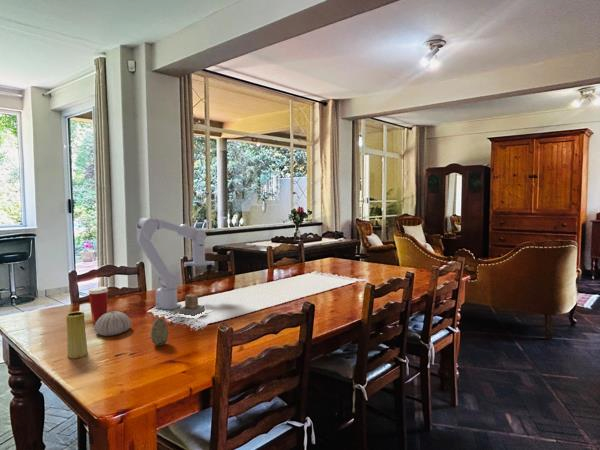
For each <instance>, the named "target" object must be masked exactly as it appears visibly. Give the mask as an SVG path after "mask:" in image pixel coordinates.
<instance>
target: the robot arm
mask: <svg viewBox="0 0 600 450" xmlns="http://www.w3.org/2000/svg"><path fill="white" fill-rule="evenodd" d="M135 227H136V228H135V229H136V242H137V244H138V246H139V247H140V248H141V251H142V252H143V253H144V255H145V257H146V258H147V260H148V261H149V263H150V265H151V266H152V267H153V269H154V270H155V272H156V276H157V280H158V284H159V285H160V287H159V288H157V289H156V291H155V297H154V298H155V306H154V308H155V309H160V308H161V309H162V310H171V309H172V310H174V309H176V308H179V307H180V306H182V304H181V303H178V290H177V289H178V285H179V282H180V281H179V278H178V277H177V276H175V275H174V274H173V272H171V270H169V269H168V267H167V265H166V263H165V262H164V261H163V259H162V257H161V256H160V254H159V252H158V250H157V249H156V248H155V246H154V244H153V243H152V241H151V240H152V237H153V235H154V234H155V232H156V231H157V230H161V229H165V230H169V231H172V232H176V233H177V234H178V236H179V237H183V238H187V239H190V240H192V260H193V261H185V262H184V263H183V268H185V269H186V271H187V274H188V275H189V279H190V282H193V281H194V277H193V267H206V281H209V280H210V279H209V278H210V272H211V270H212V268H213V266H215V261H214V260H211V261H210V260H206V253H205V252H206V249H205V241H206V239H207V234H206V232H205V230H203V229H199V228H197V226H190V225H189V224H188V223H184V224H183V223H181V224H180V225H178V224H175V223H172V222H169V221H167V220H163V219H157V218H152V217H151V218H149V217H145V216H144V217H141V218H139V220H138V221H137V224H136V226H135ZM161 309H160V310H161Z"/></svg>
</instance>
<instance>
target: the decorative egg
mask: <svg viewBox="0 0 600 450" xmlns="http://www.w3.org/2000/svg"><path fill="white" fill-rule="evenodd" d="M150 338H151V342H152V343H153V344H154V345H155V346H158V347H159V346H163V345H164V344H165V343H167V341H168V339H169V328H168V325H167V323H166V321H165V320H164V318H162V317H157V318H156V319H155V320H154V321H153V323H152V326H151V331H150Z"/></svg>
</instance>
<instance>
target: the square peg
mask: <svg viewBox="0 0 600 450" xmlns="http://www.w3.org/2000/svg"><path fill="white" fill-rule="evenodd" d="M198 305H199V295H198V294H196V293H188V294H186V295H184V306H185V309H196V308H198Z"/></svg>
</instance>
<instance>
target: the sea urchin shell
mask: <svg viewBox="0 0 600 450" xmlns="http://www.w3.org/2000/svg"><path fill="white" fill-rule="evenodd" d="M131 325H132V321H131V319H130V317H129V316H128V315H127V314H125V313H124V312H122V311H117V310H115V311H114V310H113V311H109V312H107V313H106V314H103V315H102V316H101V317H100V318H99V319H98V320H97V321H96V323H94V325H93V328H94V331H95V333H97V335H101V336H105V337H110V336H115V335H120V334H122V333H124V332H127V331H128V330H129V329H130V328H131Z"/></svg>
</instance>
